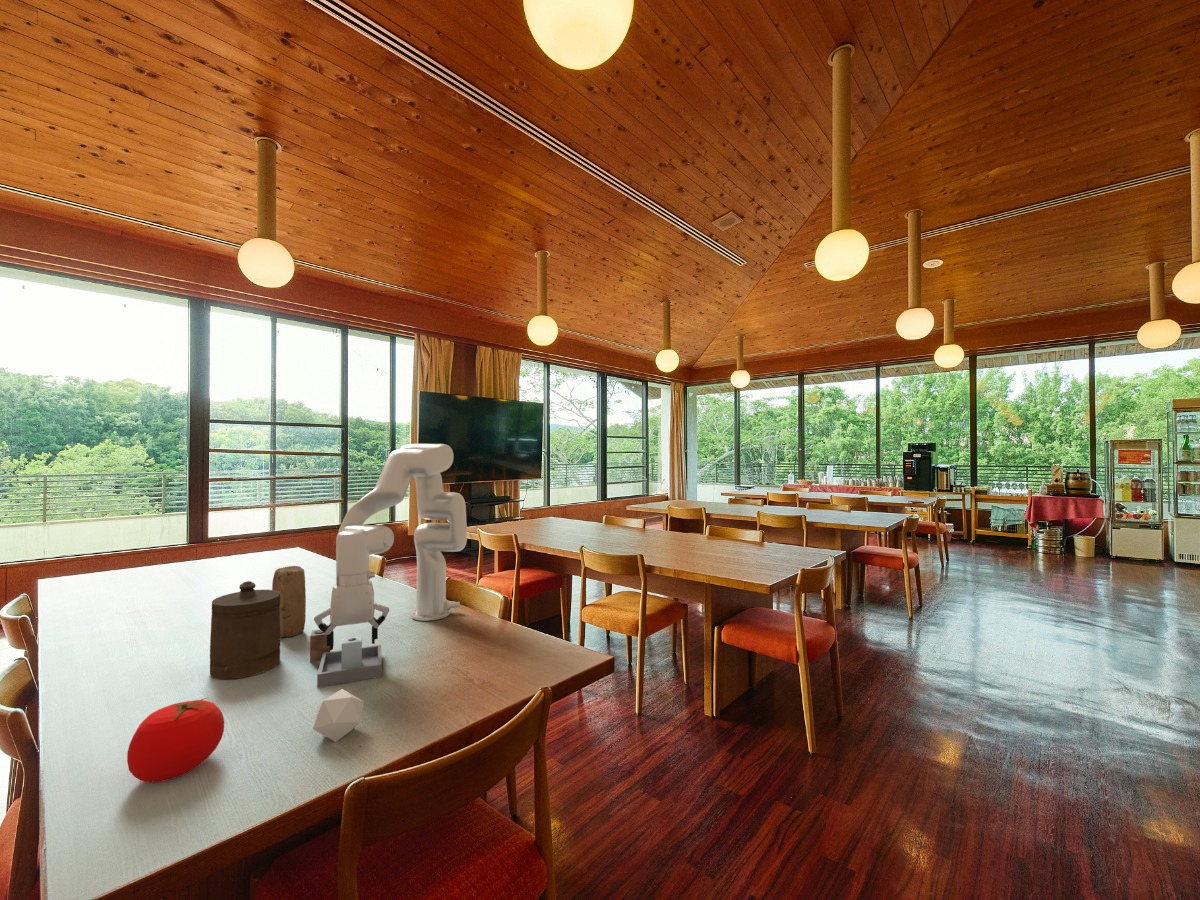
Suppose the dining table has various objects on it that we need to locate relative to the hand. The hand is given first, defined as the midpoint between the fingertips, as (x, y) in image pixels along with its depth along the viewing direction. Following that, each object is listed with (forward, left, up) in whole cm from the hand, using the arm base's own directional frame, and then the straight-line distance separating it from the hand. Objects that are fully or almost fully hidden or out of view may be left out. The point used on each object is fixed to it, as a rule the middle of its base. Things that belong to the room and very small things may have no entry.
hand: (352, 645), depth 128 cm
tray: (0, 0, -6) cm, 6 cm away
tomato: (+26, +32, -7) cm, 42 cm away
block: (+19, -37, -7) cm, 42 cm away
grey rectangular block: (0, 0, -5) cm, 5 cm away
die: (+1, +31, -7) cm, 32 cm away
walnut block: (+8, -12, -6) cm, 16 cm away
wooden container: (+25, -13, -7) cm, 29 cm away
